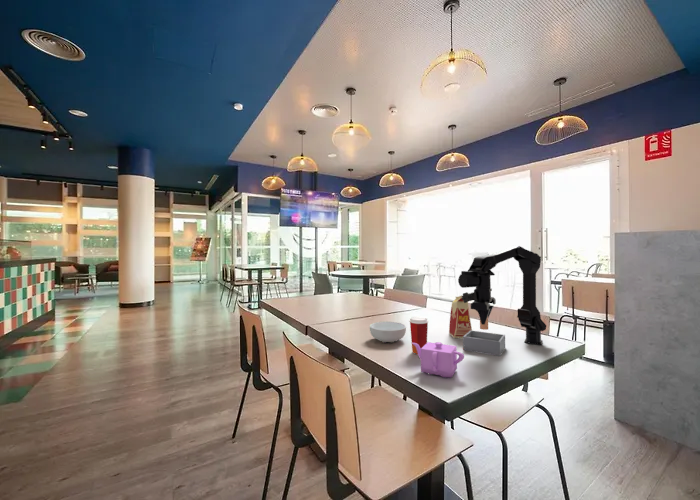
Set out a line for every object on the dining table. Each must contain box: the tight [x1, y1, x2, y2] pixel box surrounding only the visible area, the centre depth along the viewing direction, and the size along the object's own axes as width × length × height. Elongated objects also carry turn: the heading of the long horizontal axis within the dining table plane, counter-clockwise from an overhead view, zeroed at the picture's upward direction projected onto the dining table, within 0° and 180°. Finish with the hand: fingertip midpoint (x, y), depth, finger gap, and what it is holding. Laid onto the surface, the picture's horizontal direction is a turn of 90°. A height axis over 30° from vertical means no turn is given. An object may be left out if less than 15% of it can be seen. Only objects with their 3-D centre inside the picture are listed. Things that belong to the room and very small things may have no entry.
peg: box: [479, 317, 489, 331], centre depth 126 cm, size 3×3×8 cm
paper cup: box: [408, 316, 429, 355], centre depth 123 cm, size 8×8×14 cm
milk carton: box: [448, 295, 473, 339], centre depth 146 cm, size 9×9×20 cm
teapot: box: [411, 341, 465, 378], centre depth 103 cm, size 18×14×10 cm
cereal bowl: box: [369, 321, 407, 343], centre depth 140 cm, size 17×17×7 cm
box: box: [462, 329, 506, 357], centre depth 126 cm, size 12×14×6 cm
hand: (484, 323), depth 126 cm, fingers closed on peg, 3 cm apart
